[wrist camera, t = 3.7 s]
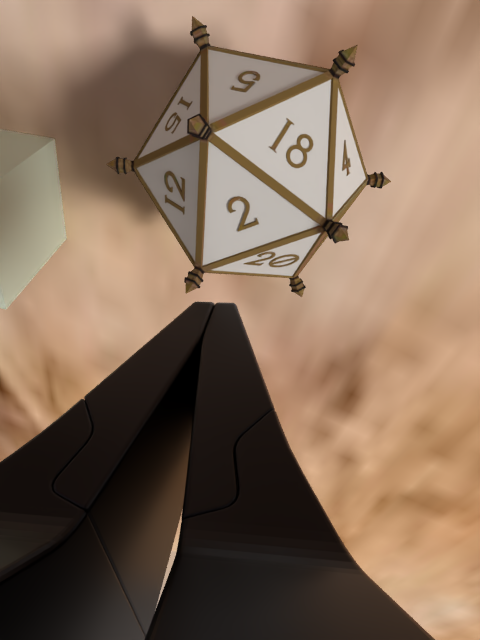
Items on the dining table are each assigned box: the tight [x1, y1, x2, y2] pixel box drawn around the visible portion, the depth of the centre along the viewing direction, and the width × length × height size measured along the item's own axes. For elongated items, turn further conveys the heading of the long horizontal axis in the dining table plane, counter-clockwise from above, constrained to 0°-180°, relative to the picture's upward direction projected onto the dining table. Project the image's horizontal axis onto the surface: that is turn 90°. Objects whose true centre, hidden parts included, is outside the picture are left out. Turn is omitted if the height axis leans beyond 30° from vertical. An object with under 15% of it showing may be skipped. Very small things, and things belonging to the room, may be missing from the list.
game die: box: [106, 16, 391, 297], centre depth 16 cm, size 9×8×10 cm
